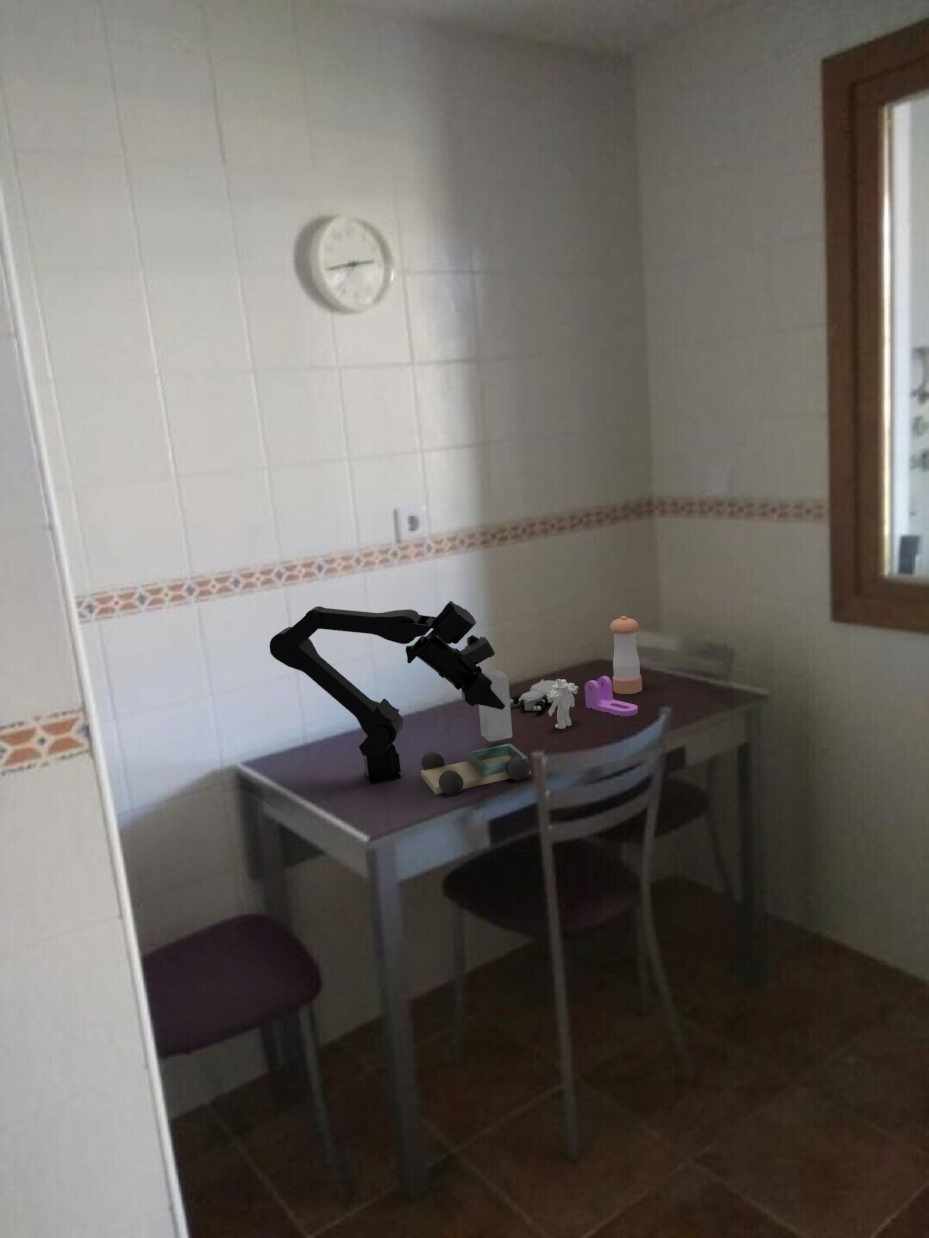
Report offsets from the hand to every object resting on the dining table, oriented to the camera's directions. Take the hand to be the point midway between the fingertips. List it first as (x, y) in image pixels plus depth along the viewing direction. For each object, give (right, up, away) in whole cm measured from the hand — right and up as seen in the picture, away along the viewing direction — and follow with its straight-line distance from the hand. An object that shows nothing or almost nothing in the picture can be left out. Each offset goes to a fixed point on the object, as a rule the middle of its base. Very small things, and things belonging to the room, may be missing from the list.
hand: (500, 703), depth 194 cm
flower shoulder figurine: (+15, -7, +24) cm, 30 cm away
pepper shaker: (+34, -1, +46) cm, 58 cm away
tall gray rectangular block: (-1, -7, +1) cm, 7 cm away
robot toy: (+12, -4, +41) cm, 43 cm away
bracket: (+28, -5, +32) cm, 43 cm away
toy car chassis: (-5, -15, -1) cm, 15 cm away
